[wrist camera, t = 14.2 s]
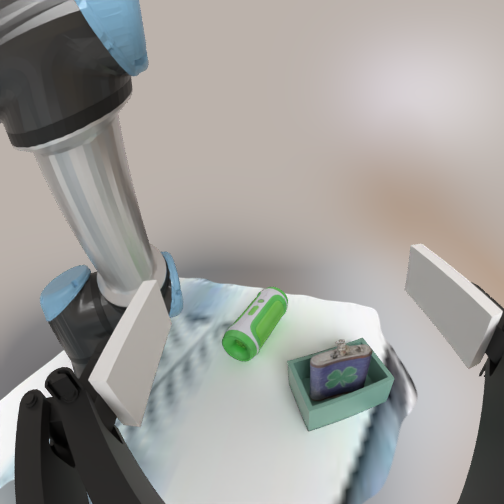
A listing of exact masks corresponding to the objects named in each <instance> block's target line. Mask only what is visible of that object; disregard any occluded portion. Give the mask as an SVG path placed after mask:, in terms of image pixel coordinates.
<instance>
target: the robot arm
mask: <svg viewBox="0 0 504 504" xmlns="http://www.w3.org/2000/svg"><path fill="white" fill-rule="evenodd" d="M147 68H148V58H147V52H146V42H145V35H144V29H143V22H142V16H141V10H140V4H139V0H0V123H3V124H4V127H5V129H6V132H7V134H8V137H9V139H10V141H11V144H12V146H13V147H14V148H15V149H17V150H20V151H28V152H33V153H34V155H35V158H36V160H37V162H38V165H39V167H40V169H41V171H42V174H43V176H44V178H45V180H46V182H47V184H48V186H49V188H50V190H51V192H52V194H53V196H54V198H55V200H56V202H57V204H58V206H59V208H60V210H61V211H62V214H63V215H64V217H65V219H66V221H67V223H68V224H69V226H70V228H71V229H72V231H73V233H74V235H75V236H76V238H77V240H78V241H79V243H80V245H81V246H82V248H83V249H84V251H85V253H86V254H87V256H88V257H89V259H90V261H91V262H92V264H93V265H94V267H95V268H96V270H97V272H94V273H91V271H90V269H89V268H88V267H87V266H86V265H82V266H81V265H79V266H76V267H73V268H71V269H69V270H67V271H65V272H64V273H62V274H60V275H59V276H57V277H56V278H55V279H53V280H52V281H51V282H50V283H49V284H48V285H47V286H46V287H45V288H44V290H43V291H42V293H41V296H40V304H41V307H42V309H43V312H44V314H45V317H46V320H47V321H48V323H49V324H50V326H51V328H52V330H53V332H54V333H55V335H56V337H57V339H58V340H59V342H60V344H61V345H62V347H63V349H64V350H65V352H66V354H67V355H68V357H69V358H70V360H71V363H72V366H73V370H74V372H73V371H72V370H71V369H70V368H68V367H61V368H58V369H56V370H54V371H53V372H51V374H50V375H49V376H48V377H47V379H46V381H45V388H46V389H47V390H48V392H49V393H50V394H51V395H52V396H53V397H49V398H46V397H45V396H44V395H43V394H42V392H41V391H39V390H37V389H35V390H31V391H28V392H27V393H26V394H25V395H24V396H23V397H22V399H21V402H20V407H19V414H18V421H17V431H16V443H15V494H16V504H89V501H88V496H87V493H88V495H89V497H90V499H91V501H92V503H93V504H165V503H164V501H163V500H162V499H161V497H160V496H159V495H158V493H157V492H156V490H155V489H154V488H153V486H152V485H151V483H150V482H149V480H148V479H147V477H146V476H145V474H144V473H143V471H142V470H141V468H140V466H139V465H138V463H137V462H136V460H135V458H134V457H133V455H132V453H131V451H130V450H129V448H128V446H127V444H126V443H125V441H124V439H123V437H122V435H121V433H120V431H119V430H118V428H117V427H116V426H115V421H116V418H118V419H119V420H120V421H121V423H122V424H123V425H128V426H136V427H141V423H142V419H143V416H144V412H145V409H146V405H147V401H148V398H149V394H150V391H151V388H152V384H153V381H154V378H155V374H156V371H157V368H158V365H159V361H160V358H161V355H162V352H163V349H164V346H165V343H166V340H167V337H168V334H169V330H170V328H171V325H172V323H171V320H170V318H171V317H174V316H177V315H179V314H180V313H181V311H182V308H183V298H182V293H181V290H180V281H179V277H178V273H177V270H176V266H175V263H174V261H173V258H172V256H171V255H170V253H168V252H160V251H159V250H158V249H157V248H156V247H155V246H153V245H151V244H150V243H149V240H148V237H147V234H146V230H145V227H144V224H143V220H142V217H141V213H140V210H139V206H138V202H137V198H136V195H135V191H134V187H133V183H132V179H131V175H130V170H129V166H128V162H127V157H126V152H125V148H124V143H123V138H122V133H121V127H120V122H119V116H118V113H119V112H120V110H121V109H122V108H123V107H124V105H125V104H126V103H127V102H128V100H129V99H130V97H131V95H132V82H131V76H137V75H138V74H139V73H141V72H143V71H145V70H146V69H147ZM405 291H406V292H407V293H408V294H409V295H410V296H411V298H412V299H413V300H414V301H415V302H416V303H417V305H418V306H419V307H420V308H421V309H422V310H423V312H424V313H425V314H426V315H427V316H428V317H429V319H430V320H431V321H432V323H433V324H434V325H435V326H436V327H437V329H438V330H439V331H440V332H441V334H442V335H443V336H444V337H445V339H446V340H447V341H448V343H449V344H450V345H451V346H452V348H453V349H454V350H455V352H456V353H457V354H458V356H459V357H460V358H461V360H462V361H463V363H464V364H465V365H466V367H467V368H468V369H470V368H472V367H473V366H475V365H477V364H479V363H480V362H481V360H482V358H483V356H484V354H485V353H486V354H487V355H488V359H487V361H486V363H485V364H484V366H483V368H482V370H481V372H480V374H479V376H481V375H482V374H483V372H484V371H485V375H484V377H485V385H484V396H483V405H482V412H481V419H480V425H479V430H478V436H477V441H476V445H475V449H474V454H473V458H472V461H471V465H470V469H469V472H468V475H467V479H466V482H465V485H464V488H463V491H462V493H461V496H460V499H459V501H458V503H457V504H504V308H502V307H501V306H500V305H499V304H498V303H497V302H496V301H495V300H494V299H492V298H490V296H489V295H488V294H487V293H485V291H484V290H483V289H481V288H480V287H479V286H478V285H476V284H474V283H472V282H470V281H468V280H467V279H466V278H465V277H464V276H462V275H461V274H460V273H459V272H458V271H456V270H455V269H454V268H453V267H452V266H450V265H449V264H448V263H446V262H445V261H444V260H443V259H441V258H440V257H439V256H437V255H436V254H435V253H433V252H432V251H431V250H430V249H428V248H427V247H425V246H424V245H423V244H416V245H411V247H410V256H409V265H408V272H407V279H406V285H405ZM74 373H75V374H74ZM49 439H50V444H49Z"/></svg>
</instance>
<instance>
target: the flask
mask: <svg viewBox="0 0 504 504" xmlns="http://www.w3.org/2000/svg"><path fill="white" fill-rule="evenodd" d="M339 342H345V340H339ZM336 343H337V342H336ZM345 344H346V343H340V344H338V347H337V348H336V349H333V350H329V351H326V352H324V353H320V354H318V355H315V356H313V357H312V358H311V359H310V393H309V396H310V398H311V400H312V401H324V400H325V399H329V398H337V397H339V396H341V395H342V394H345V395H346V394H348V393H352V392H354V391H357V390H359V389H362V388H364V384H365V381H366V377H367V373H368V368H369V365H370V361H371V356H372V352H373V351H372V349H371V348H370V346H368V345H366V344H362V345H353V346H348V345H345Z"/></svg>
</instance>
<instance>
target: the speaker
mask: <svg viewBox="0 0 504 504" xmlns="http://www.w3.org/2000/svg"><path fill="white" fill-rule="evenodd" d="M287 306H288V299H287V296H286V294H285V293H284V292H283V291H282V290H280V289H278V288H276V287H268V288H266V289H264V290H262V291H261V292H260V293H259V294H258V295H257V297H256V298H255V299H254V300H253V302H252V303H251V304H250V305H249V306H248V307H247V309H246V310H245V311H244V312H243V313H242V315H241V316H240V317H239V318H238V319H237V320H236V321H235V323H234V324H233V325H231V326H230V327H229V328H228V329H227V331H226V333H225V335H224V337H223V340H222V345H223V347H224V349H225V350H226V352H227V353H228V354H229V355H230V356H232V357H233V358H235V359H237V360H240V361H248V360H250V359H252V358H253V357H254V356H255V355H256V354H258V353H259V350H260V348H261V347H262V345H263V344H264V342H265V341H266V339H267V338H268V336H269V335H270V333H271V332H272V330H273V329H274V327H275V326H276V324H277V323H278V321H279V320H280V319H281V317H282V316H283V315H284V314H285V312H286V310H287Z"/></svg>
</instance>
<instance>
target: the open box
mask: <svg viewBox="0 0 504 504" xmlns="http://www.w3.org/2000/svg"><path fill="white" fill-rule="evenodd" d="M362 344H366V345H368V344H367V343H366V341H365V340H364V339H363V338H360V339H358V340H355V341H352V342H349V343H346V344H345V345H348V346H353V345H362ZM368 346H369V345H368ZM337 347H338V346H337ZM337 347H334V348H331V349H328V350H324V351H321V352H318V353H315V354H311V355H308V356H304V357H301V358H297V359H294V360H290V361H287V363H288V375H289V385H290V387H291V390H292V392H293V395H294V397H295V400H296V402H297V405H298V407H299V410H300V412H301V415H302V417H303V420H304V422H305V425H306V427H307V430H308V431H311V430H314V429H317V428H320V427H323V426H326V425H329V424H332V423H335V422H338V421H340V420H343V419H346V418H348V417H351V416H353V415H356V414H358V413H360V412H363V411H365V410H368V409H370V408H372V407H374V406H377V405H379V404H381V403H383V402H385V401H386V400H387V398H388V395H389V392H390V390H391V387H392V384H393V381H394V377H393V376H392V374H391V373H390V372H389V371H388V369H387V368H386V367H385V365H384V364H383V363H382V362H381V360H380V359H379V358H378V356H377V355H376V354H375V353H374V351H373V350H372V351H373V352H372V356H371V361H370V365H369V368H368V373H367V377H366V381H365V384H364V388H362V389H359V390H357V391H354V392H352V393H348V394H346V395H345V394H342V395H341V396H339V397H337V398H329V399H325V400H324V401H312V400H311V398H310V396H309V393H310V359H311V358H312V357H313V356H315V355H318V354H320V353H324V352H326V351H329V350H333V349H336V348H337Z"/></svg>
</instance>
